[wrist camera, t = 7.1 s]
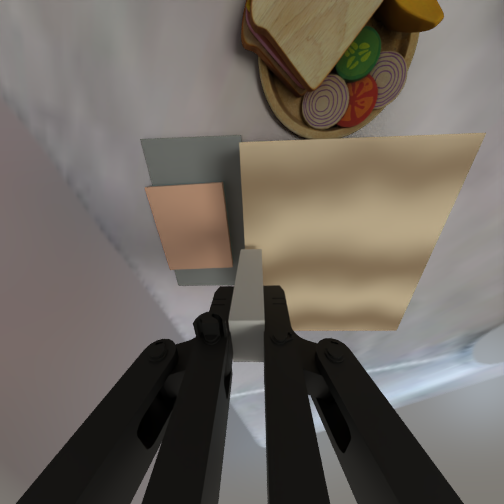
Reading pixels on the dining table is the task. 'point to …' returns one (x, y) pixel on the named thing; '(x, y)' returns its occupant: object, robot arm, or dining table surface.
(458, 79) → the dining table surface
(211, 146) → the rubber mat
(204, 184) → the tile
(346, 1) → the toy sandwich meal
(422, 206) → the oak stand
